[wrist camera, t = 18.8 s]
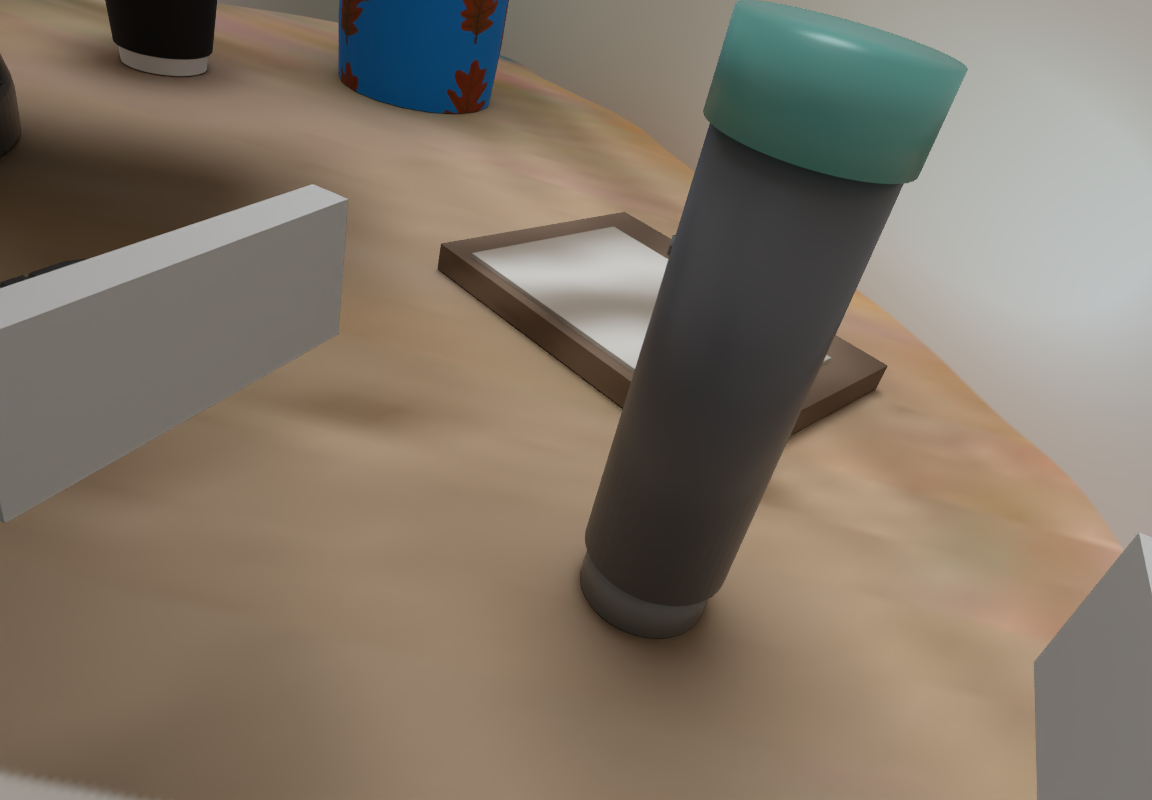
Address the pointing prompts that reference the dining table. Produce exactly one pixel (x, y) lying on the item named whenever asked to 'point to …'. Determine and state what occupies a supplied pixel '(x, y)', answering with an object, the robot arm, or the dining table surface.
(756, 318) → the marker
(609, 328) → the brown picture frame
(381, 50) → the thermos
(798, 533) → the dining table surface
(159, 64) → the dixie cup
